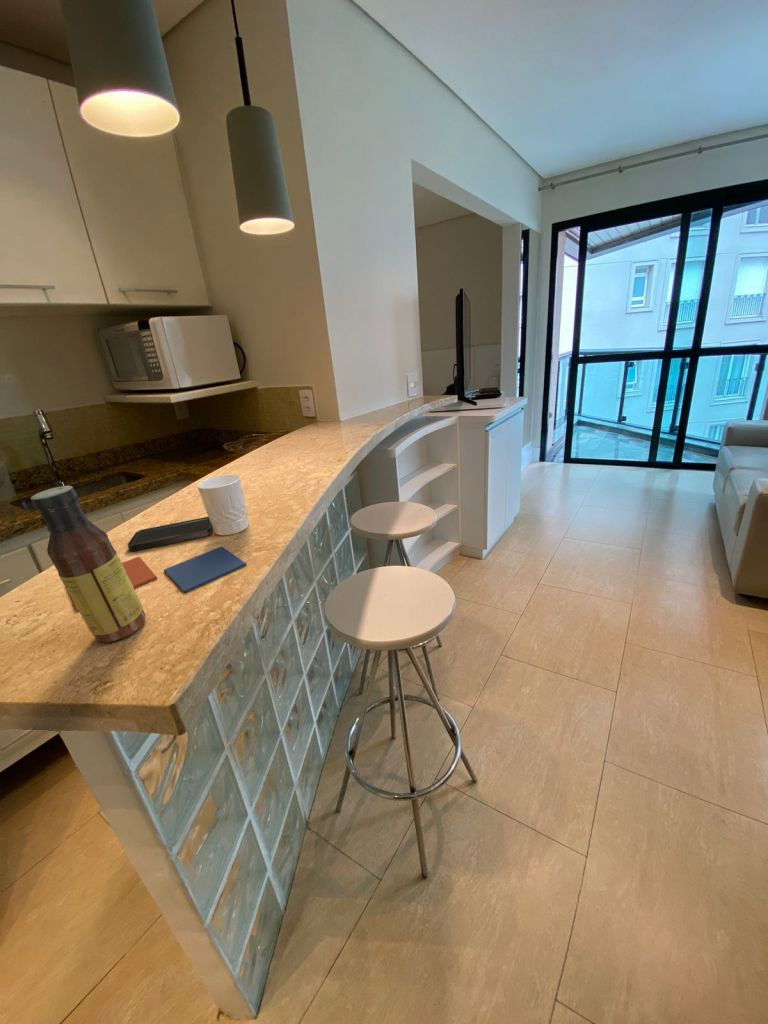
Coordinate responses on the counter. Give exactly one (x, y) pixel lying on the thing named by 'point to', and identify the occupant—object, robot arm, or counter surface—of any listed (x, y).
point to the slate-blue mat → (204, 568)
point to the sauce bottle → (89, 567)
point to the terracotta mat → (137, 572)
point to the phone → (170, 533)
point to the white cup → (224, 503)
